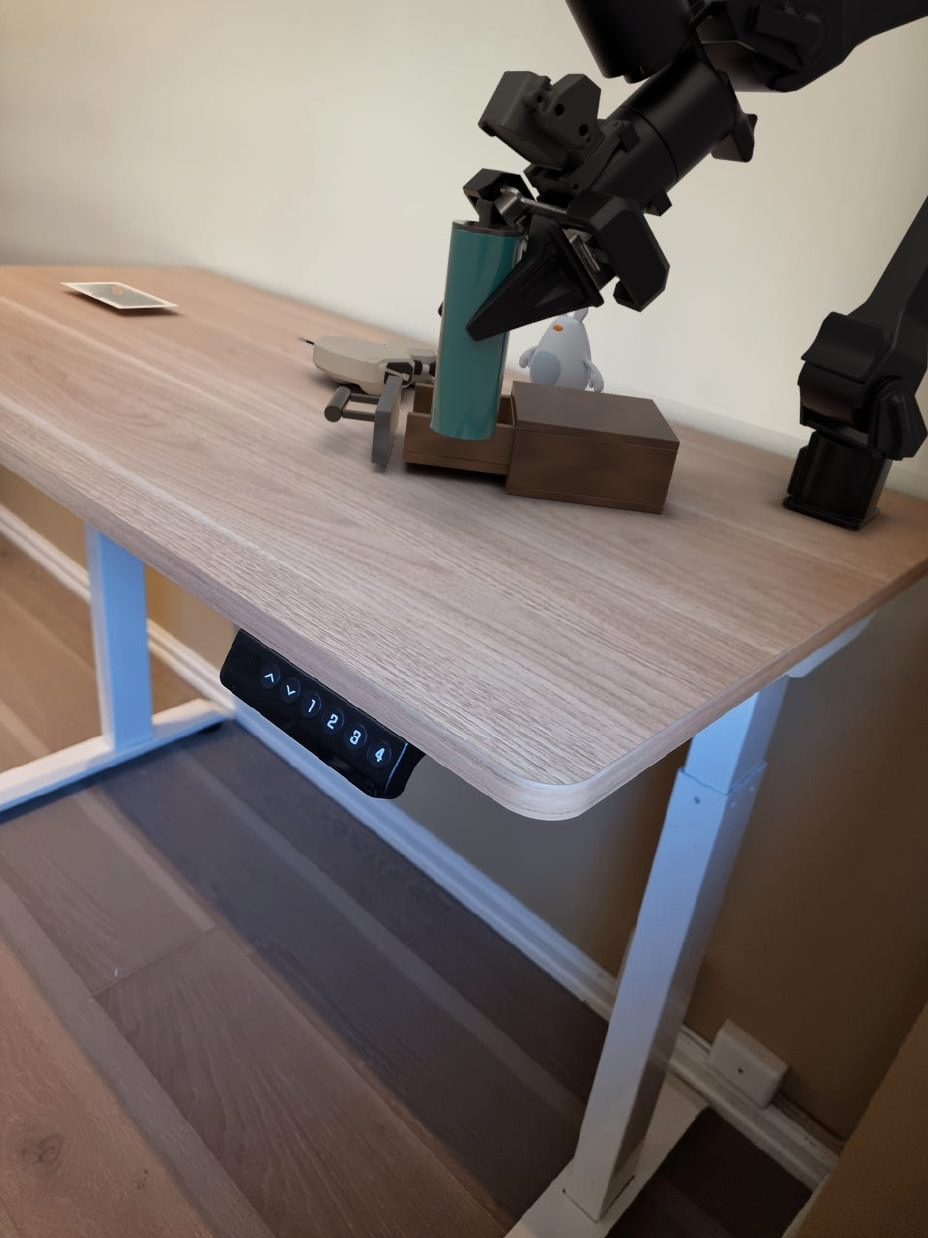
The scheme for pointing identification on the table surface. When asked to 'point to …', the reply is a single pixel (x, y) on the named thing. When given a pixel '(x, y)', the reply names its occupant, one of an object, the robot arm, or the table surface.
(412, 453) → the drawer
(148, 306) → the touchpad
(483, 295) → the lidded cylindrical canister
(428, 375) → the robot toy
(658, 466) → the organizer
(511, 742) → the table surface
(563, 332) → the toy figure
